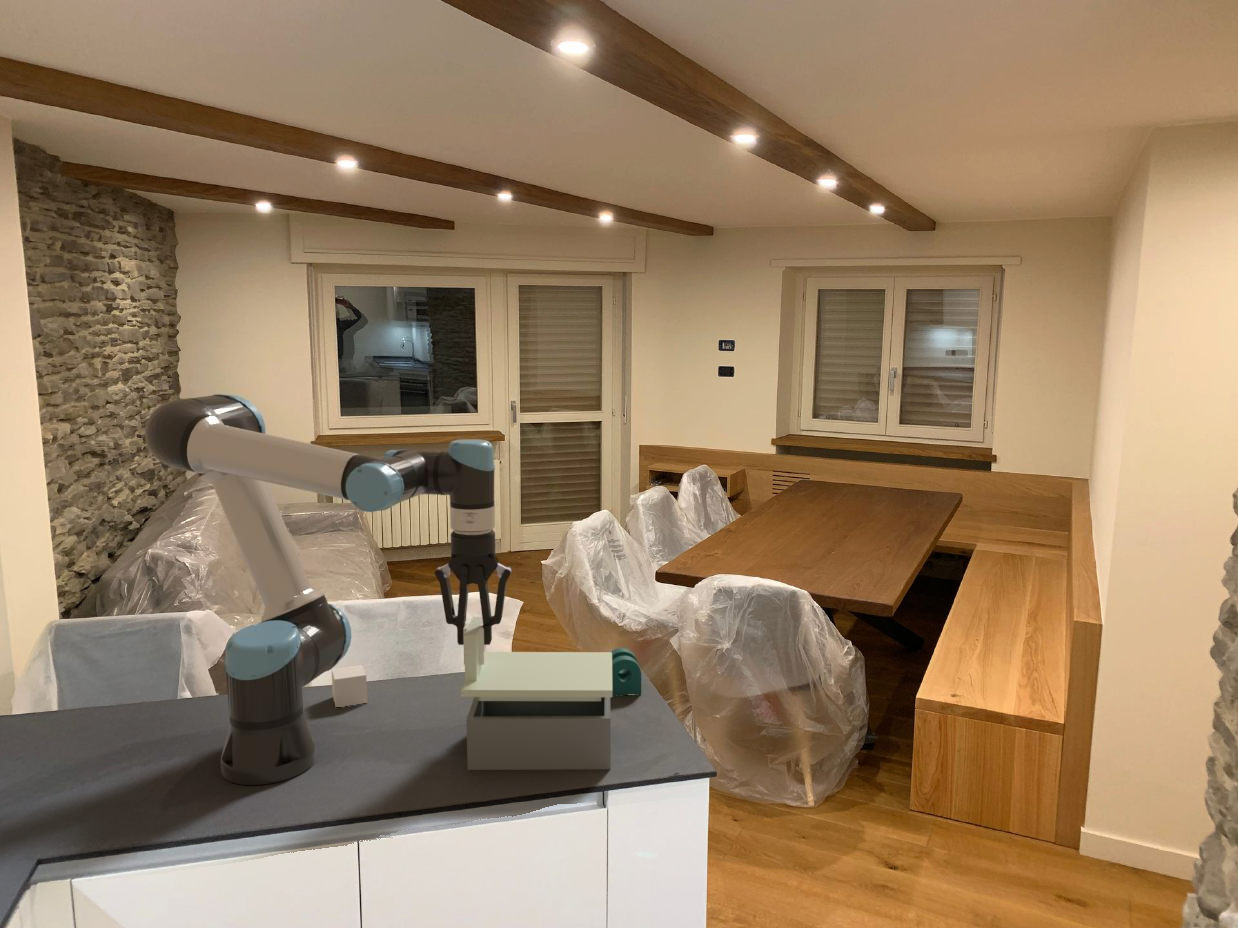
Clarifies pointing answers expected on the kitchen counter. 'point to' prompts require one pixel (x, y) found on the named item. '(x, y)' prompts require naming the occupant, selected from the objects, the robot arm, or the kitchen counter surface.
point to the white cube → (349, 686)
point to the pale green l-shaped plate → (534, 673)
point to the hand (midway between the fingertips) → (475, 661)
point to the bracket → (625, 673)
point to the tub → (538, 735)
